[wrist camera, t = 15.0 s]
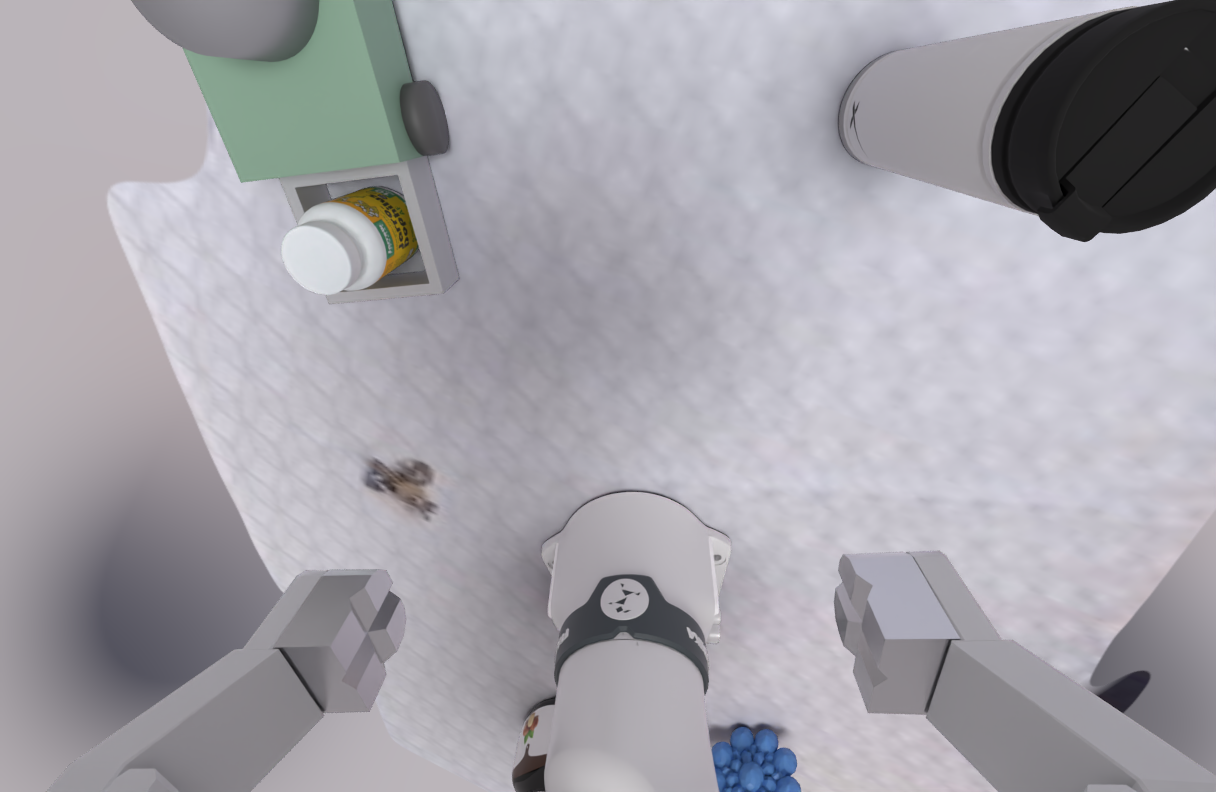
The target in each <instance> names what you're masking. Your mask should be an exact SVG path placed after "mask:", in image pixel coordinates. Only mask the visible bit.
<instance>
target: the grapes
mask: <svg viewBox="0 0 1216 792" xmlns="http://www.w3.org/2000/svg"><path fill="white" fill-rule="evenodd" d="M730 744H731V746H730V745H729V744H728V743H727V742H718V743H716V744H715V745H714V746H713V747H712V755H713V761H714V766H715V772H716V777H717V783H718V788H719V792H801V788H800V784H799V783H798V782H797V781H796V780H795V779H794V778H793V777H790V776H791V775H792V774H793V773H794V772H795V771H796V767H797V760H796V756H795V754H794V753H793V752H792V751H791V750H790V749H788V748H779V749H778V750H777V748H778V738H777V736H776V734H775V733H774V732H773V731H772V730H769V729H762V730H760V731H759V732H758V733H757V734H756V736H755V739H754V736H753V733H752V732H751V731H750V730H749V729H748V728H746V727H738V728H737V729H735V730H734V731H733V732H732V735H731V738H730Z"/></svg>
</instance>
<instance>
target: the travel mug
mask: <svg viewBox="0 0 1216 792" xmlns="http://www.w3.org/2000/svg"><path fill="white" fill-rule="evenodd" d="M839 133H840V137H841V140H842V143H843V145H844V147H845V148H846V150H847V151H848V153H849V154H850V155H851V156H852V157H853V158H855V159H856V160H858V161H860V162H861V163H864V164H867V165H870V166H873V167H877V168H880V169H883V170H887V171H890V172H893V173H897V174H900V175H903V176H907V177H910V178H913V179H916V180H920V181H923V182H926V183H930V184H933V185H936V186H940V187H943V188H946V189H950V190H953V191H956V192H959V193H963V194H966V195H969V196H973V197H976V198H979V199H983V200H986V201H989V202H993V203H996V204H999V205H1002V206H1006V207H1009V208H1013V209H1016V210H1019V211H1022V212H1026V213H1029V214H1033V215H1037V216H1039V218H1040V219H1041V220H1042V221H1043V222H1044V223H1045V224H1046V225H1047V226H1049V227H1050V228H1051V229H1052V230H1054V231H1055V232H1057V233H1058V234H1060V235H1061V236H1063V237H1067V238H1071V239H1074V240H1078V241H1082V242H1087V241H1090V240H1092V239H1093V238H1094V237H1095V236H1096V235H1097V234H1098V233H1099V232H1102V233H1116V234H1121V233H1128V232H1135V231H1141V230H1144V229H1147V228H1150V227H1153V226H1156V225H1159V224H1162V223H1164V222H1166V221H1168V220H1170V219H1172V218H1174V217H1176V216H1178V215H1180V214H1182V213H1184V212H1185V211H1187V210H1188V209H1190V208H1191V207H1193V206H1194V205H1196V204H1197V203H1198V202H1200V201H1201V200H1203V199H1204V198H1205V197H1207V196H1208V195H1209V194H1210V193H1211V192H1212V191H1213V190H1214V189H1216V0H1174V1H1169V2H1163V3H1158V4H1152V5H1147V6H1141V7H1137V6H1130V7H1125V8H1119V9H1114V10H1108V11H1103V12H1098V13H1093V14H1087V15H1082V16H1077V17H1072V18H1066V19H1061V20H1056V21H1051V22H1045V23H1040V24H1035V25H1030V26H1024V27H1019V28H1014V29H1009V30H1003V31H998V32H993V33H988V34H982V35H977V36H972V37H966V38H961V39H956V40H951V41H945V42H940V43H935V44H930V45H924V46H919V47H914V48H909V49H903V50H898V51H893V52H890V53H887V54H885V55H882V56H880V57H879V58H877V59H875V60H874V61H872V62H871V63H869V64H868V65H867V66H866V67H865V68H864V69H863V70H861V72H860V73H859V74H858V75H857V76H856V77H855V79H854V80H853V81H852V83H851V85H850V86H849V88H848V90H847V91H846V93H845V96H844V98H843V101H842V104H841V108H840V112H839Z"/></svg>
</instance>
